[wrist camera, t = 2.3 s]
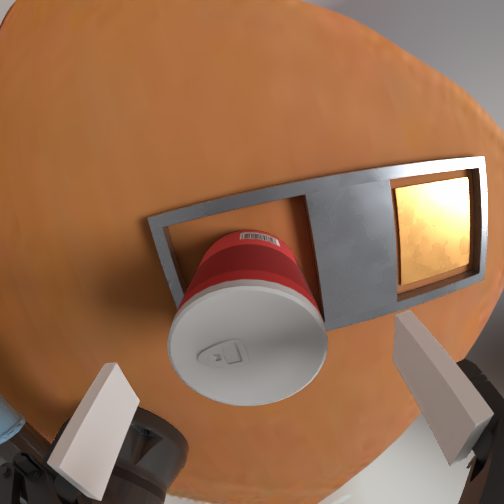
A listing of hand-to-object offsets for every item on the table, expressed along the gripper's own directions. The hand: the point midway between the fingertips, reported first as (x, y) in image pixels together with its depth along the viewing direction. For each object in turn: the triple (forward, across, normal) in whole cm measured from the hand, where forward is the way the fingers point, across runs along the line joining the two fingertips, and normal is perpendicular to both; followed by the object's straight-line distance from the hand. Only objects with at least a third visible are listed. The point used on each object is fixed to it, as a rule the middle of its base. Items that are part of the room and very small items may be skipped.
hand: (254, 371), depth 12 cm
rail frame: (+12, +8, 0) cm, 15 cm away
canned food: (+12, 0, 0) cm, 13 cm away
